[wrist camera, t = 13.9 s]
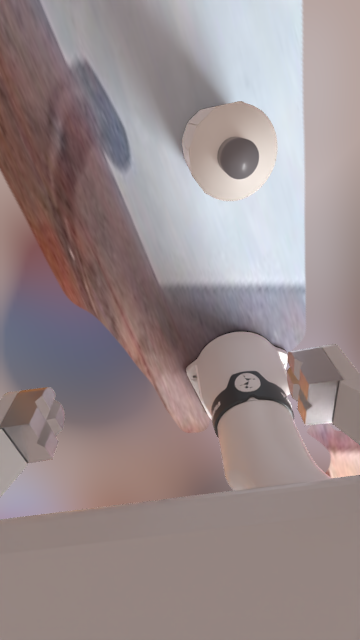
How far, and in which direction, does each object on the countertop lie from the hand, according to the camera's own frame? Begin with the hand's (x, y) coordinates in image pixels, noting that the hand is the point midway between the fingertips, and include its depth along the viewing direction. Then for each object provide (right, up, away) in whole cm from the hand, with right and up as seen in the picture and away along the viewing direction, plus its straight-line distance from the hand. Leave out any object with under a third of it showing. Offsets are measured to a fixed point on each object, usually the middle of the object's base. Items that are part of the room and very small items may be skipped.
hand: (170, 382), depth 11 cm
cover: (+4, +24, +27) cm, 37 cm away
